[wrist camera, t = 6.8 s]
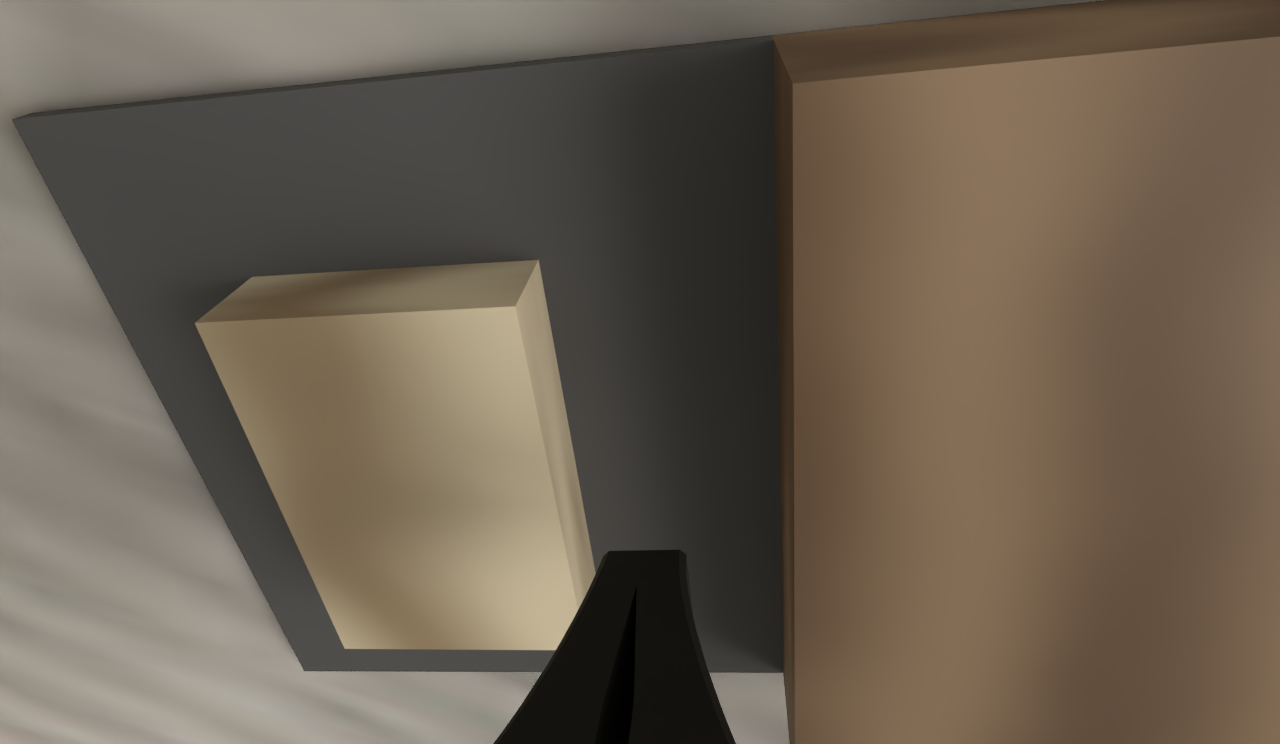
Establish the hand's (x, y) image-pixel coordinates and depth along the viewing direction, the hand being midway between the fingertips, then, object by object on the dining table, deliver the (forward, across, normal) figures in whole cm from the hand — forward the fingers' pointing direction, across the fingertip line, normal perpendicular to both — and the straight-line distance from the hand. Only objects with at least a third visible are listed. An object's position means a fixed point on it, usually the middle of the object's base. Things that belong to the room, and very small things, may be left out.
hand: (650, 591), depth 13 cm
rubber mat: (+5, +4, 0) cm, 7 cm away
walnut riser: (+5, -8, 0) cm, 10 cm away
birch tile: (+2, +5, 0) cm, 6 cm away
